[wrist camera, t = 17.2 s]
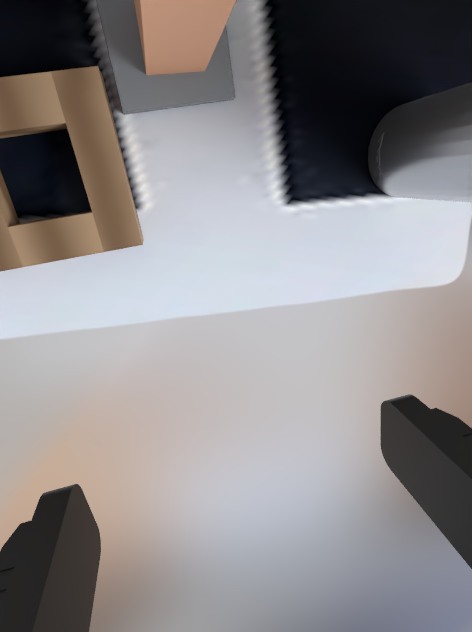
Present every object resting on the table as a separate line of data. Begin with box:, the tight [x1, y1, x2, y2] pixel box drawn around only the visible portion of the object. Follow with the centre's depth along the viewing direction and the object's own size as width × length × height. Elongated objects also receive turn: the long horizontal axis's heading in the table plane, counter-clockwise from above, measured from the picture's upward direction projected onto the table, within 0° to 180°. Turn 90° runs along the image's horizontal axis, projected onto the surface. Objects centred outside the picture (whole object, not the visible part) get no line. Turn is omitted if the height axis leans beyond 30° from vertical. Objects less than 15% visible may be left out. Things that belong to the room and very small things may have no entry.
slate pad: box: [96, 0, 235, 115], centre depth 30 cm, size 10×10×1 cm
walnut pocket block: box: [0, 66, 143, 271], centre depth 31 cm, size 14×14×3 cm
